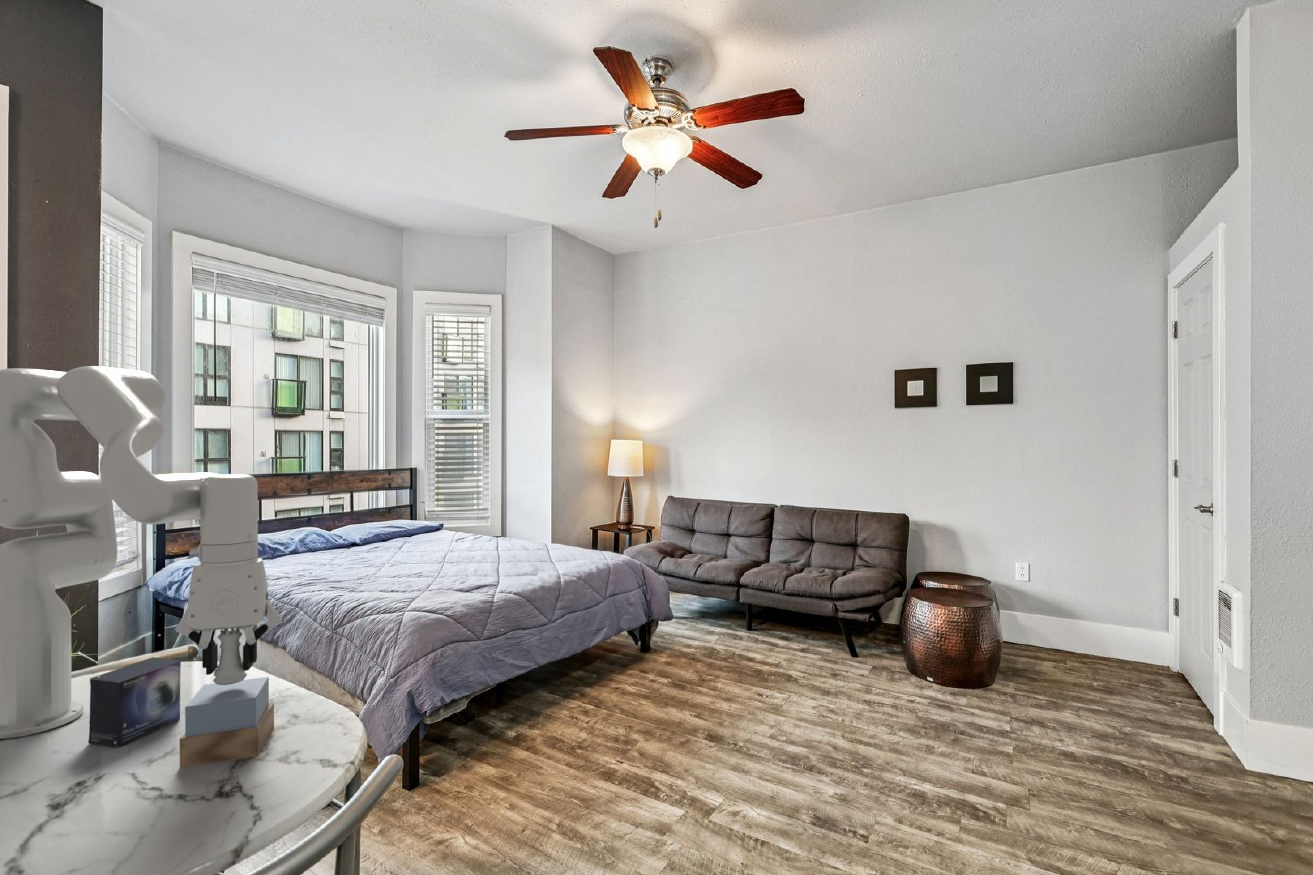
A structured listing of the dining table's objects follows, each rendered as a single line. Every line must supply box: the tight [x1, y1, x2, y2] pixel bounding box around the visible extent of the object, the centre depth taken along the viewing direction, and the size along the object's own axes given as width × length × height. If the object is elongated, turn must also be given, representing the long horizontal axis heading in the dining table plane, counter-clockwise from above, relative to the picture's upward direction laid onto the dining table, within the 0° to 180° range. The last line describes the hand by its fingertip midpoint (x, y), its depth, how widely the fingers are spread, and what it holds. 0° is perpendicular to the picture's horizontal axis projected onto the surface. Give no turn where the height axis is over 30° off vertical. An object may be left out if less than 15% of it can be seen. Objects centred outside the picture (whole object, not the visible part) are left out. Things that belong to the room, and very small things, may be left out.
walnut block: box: [179, 702, 275, 768], centre depth 100 cm, size 10×10×4 cm
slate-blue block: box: [184, 676, 270, 737], centre depth 100 cm, size 9×9×4 cm
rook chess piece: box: [212, 628, 248, 685], centre depth 100 cm, size 4×4×8 cm
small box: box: [87, 656, 182, 748], centre depth 105 cm, size 11×6×10 cm, turn 168°
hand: (230, 668), depth 100 cm, fingers closed on rook chess piece, 4 cm apart
